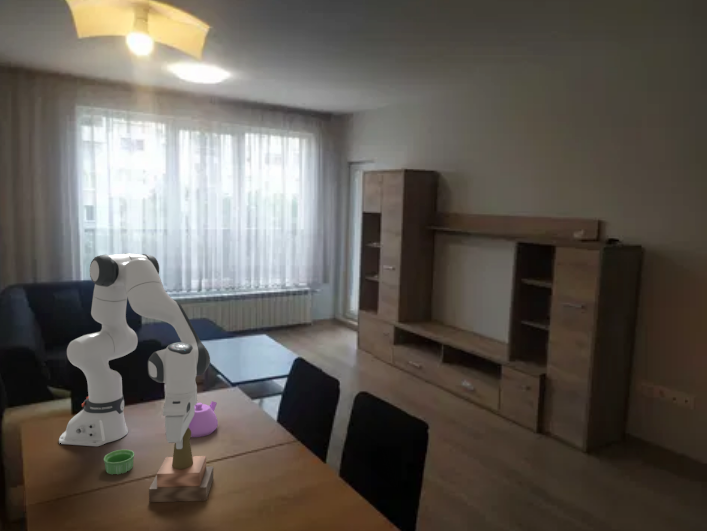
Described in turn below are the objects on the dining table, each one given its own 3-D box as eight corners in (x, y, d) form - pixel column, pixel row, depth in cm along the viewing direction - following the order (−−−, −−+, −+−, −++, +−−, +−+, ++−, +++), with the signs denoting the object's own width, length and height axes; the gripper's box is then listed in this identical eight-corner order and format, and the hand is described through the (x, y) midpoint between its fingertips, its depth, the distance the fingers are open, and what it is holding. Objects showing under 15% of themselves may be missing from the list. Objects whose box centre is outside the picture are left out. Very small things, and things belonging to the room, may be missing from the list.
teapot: (230, 422, 201) (230, 396, 200) (200, 444, 183) (199, 415, 181) (200, 417, 206) (200, 391, 205) (167, 437, 187) (167, 409, 186)
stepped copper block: (149, 502, 146) (148, 475, 145) (160, 480, 158) (160, 455, 157) (206, 500, 148) (206, 474, 147) (213, 478, 160) (213, 454, 159)
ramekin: (104, 464, 167) (104, 451, 166) (134, 459, 170) (134, 447, 170) (103, 478, 159) (102, 464, 158) (134, 472, 162) (134, 459, 162)
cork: (186, 470, 148) (186, 434, 147) (167, 467, 150) (167, 431, 148) (196, 460, 154) (196, 425, 153) (178, 457, 156) (178, 423, 154)
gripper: (178, 386, 160) (179, 428, 161) (160, 412, 139) (161, 460, 141) (199, 386, 160) (199, 428, 162) (184, 412, 140) (185, 459, 142)
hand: (182, 443), depth 151 cm, fingers closed on cork, 4 cm apart
